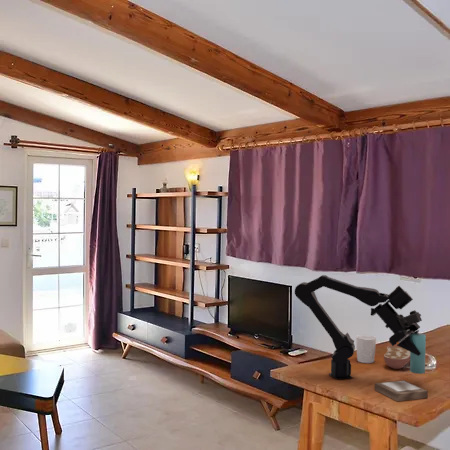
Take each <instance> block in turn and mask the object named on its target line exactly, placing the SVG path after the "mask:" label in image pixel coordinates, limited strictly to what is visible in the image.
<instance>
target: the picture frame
mask: <svg viewBox="0 0 450 450" xmlns="http://www.w3.org/2000/svg"><path fill="white" fill-rule="evenodd" d="M374 391H376V392H378V393H379V394H382V395H384V396H386V397H387V398H389V399H391V400H393V401H396V402H405V401H406V402H407V401H412V400H420V399H427V398H428V397H429V396H428V390H426V389H425V388H422V387H419V386H417V385H415V384H413V383H410V382H408V381H406V380H404V379H403V380H402V379H401V380H395V381H387V382H376V383H374Z"/></svg>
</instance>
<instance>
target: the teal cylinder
mask: <svg viewBox="0 0 450 450" xmlns="http://www.w3.org/2000/svg"><path fill="white" fill-rule="evenodd" d="M411 334H412V341H413V343H414V344H415V346H416V347H417V348H418V350H419V352H420V353H421V354H420V355H419V356H418V355H416V354H414V353H412V352H410V360H409V372H410V373H413V374H420V375H422V374H426V347H427V346H426V340H427V339H426V338H427V337H426V334H424V333H420V332H418V333H411Z"/></svg>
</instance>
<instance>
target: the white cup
mask: <svg viewBox="0 0 450 450" xmlns="http://www.w3.org/2000/svg"><path fill="white" fill-rule="evenodd" d="M355 338H356V339H355V340H356V345H355V346H356V360H357V362H358V363H363V364H373V363H375V356H376V343H377V337H376V336H375V335H374V336H373V335H367V334H360V335H356V337H355Z"/></svg>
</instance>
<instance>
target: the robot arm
mask: <svg viewBox="0 0 450 450" xmlns="http://www.w3.org/2000/svg"><path fill="white" fill-rule="evenodd" d="M321 288H326V289H330V290H332V291H336V292H339V293H342V294H344V295H348V296H351V297H353V298H355V299H357V300H358V301H359V302H361V303H363V304H365V305H367V306H368V307H371V308H370V316H371V317H373V316H375V315H378V317H379V318H380V320H381V321H383V323H384V324H385V326H384V327H385V328H386V329H388V328H389V330H390V331H391V332H392V333H393V334H392V335H391V336H390V337H389V338H388V341H389V344H390V346H400V347H402V348H404V349H406V350H408V351H410V352H412V353H414V354H416V355H418V356H419V355H420V354H421V353H420V352H419V350H418V348H417V347H416V346H415V344H414V343H413V341H412V334H411V333H420V332H419V331H420V330H419V329H420V328H421V326H420V325H419V323H420V322H422V321H423V319H422V317H421V316H422V315H421V313H419V311H416V310H411V311H410V312H409V314H408V315H406V316H404V315H403V314H402V313H401V314H399V313H398V312H397V311H396V310H402V309H403V308H404V307H406V306H408V304H409V303H411V302H413V300H414V299H413V297H412V296H411V295H410V294H409V292H407V291H405V289H403V288H402V287H401V286H400V285H398V286H396V287H395V288H394V290H393V291H391V292H390V293H389V294H388V293H383V292H380V291H379V290H378V289H375V288H373V287H371V288H370V287H363V286H357V285H354V284H351V283H348V282H344V281H341V280H339V279H336V278H333V277H329V276H327V275H324V274H323V275H321V276H319V277H317V278H314V279H313V280H311V281H309V282H305V281H304V282H301V283H299V284H297V286H295V288H294V295H295V296H296V298H297V299H298V300H299V301H300V302H301V303H302V304H304V305H305V306H307V307H308V308H309V309H310V311H311V313H312V314H313V315H314V316H315V317H316V319H317V320H318V322H319V323H320V324H321V326H322V327H323V329H325V332H326V333H327V334H328V335H329V337H330V338H331V340H332V344H333V346H334V347H335V350H334V351H333V354H332V355H331V360H330V364H331V365H330V368H331V369H330V373H328V375H329V376H330V377H331V378H334V379H336V380H344V379H345V380H346V379H353V376H352V363H351V360H350V358H352V357H353V355H354V353H355V350H356V345H355V343H354V342H355V340H354V339H352V338H351V336H350V334H349V333H348V332H346V333H345V334H344V333H343V331H341V330H340V329H339V328H338V326H337V324H336V323H335V322H334V321H333V320H332V318H331V317H330V316H329V314H328V313H327V311H326V309H324V307H323V305H321V303H320V302H319V301H318V297H317V295H316V292H315V291H317V290H320V289H321ZM382 303H383V304H382ZM391 305H392V306H391ZM373 307H375V308H373Z"/></svg>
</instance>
